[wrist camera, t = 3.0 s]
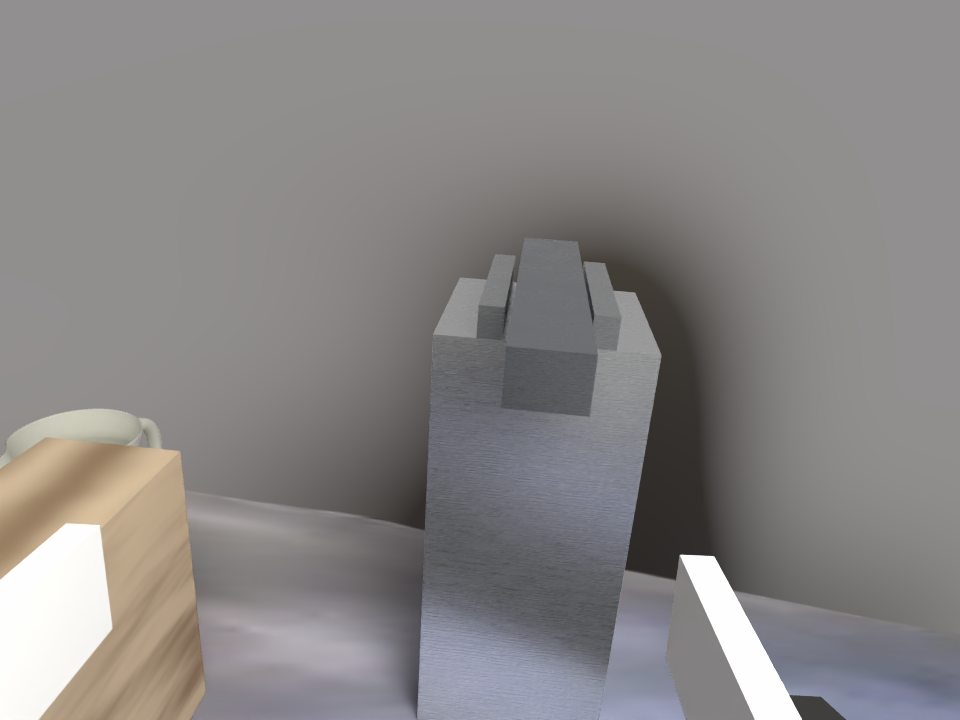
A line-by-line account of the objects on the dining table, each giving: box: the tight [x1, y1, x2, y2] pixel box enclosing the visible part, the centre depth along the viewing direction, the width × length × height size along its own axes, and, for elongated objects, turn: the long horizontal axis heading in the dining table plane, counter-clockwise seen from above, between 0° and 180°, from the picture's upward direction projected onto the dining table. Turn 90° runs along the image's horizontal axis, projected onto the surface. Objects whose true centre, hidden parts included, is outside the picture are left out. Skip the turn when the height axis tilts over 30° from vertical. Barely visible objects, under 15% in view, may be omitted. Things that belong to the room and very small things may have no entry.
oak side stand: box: [0, 437, 206, 720], centre depth 40 cm, size 9×18×20 cm, turn 175°
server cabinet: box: [417, 254, 661, 720], centre depth 51 cm, size 13×13×32 cm
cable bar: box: [501, 238, 598, 417], centre depth 42 cm, size 4×24×3 cm, turn 175°
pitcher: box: [0, 409, 163, 468], centre depth 64 cm, size 11×18×14 cm, turn 166°
